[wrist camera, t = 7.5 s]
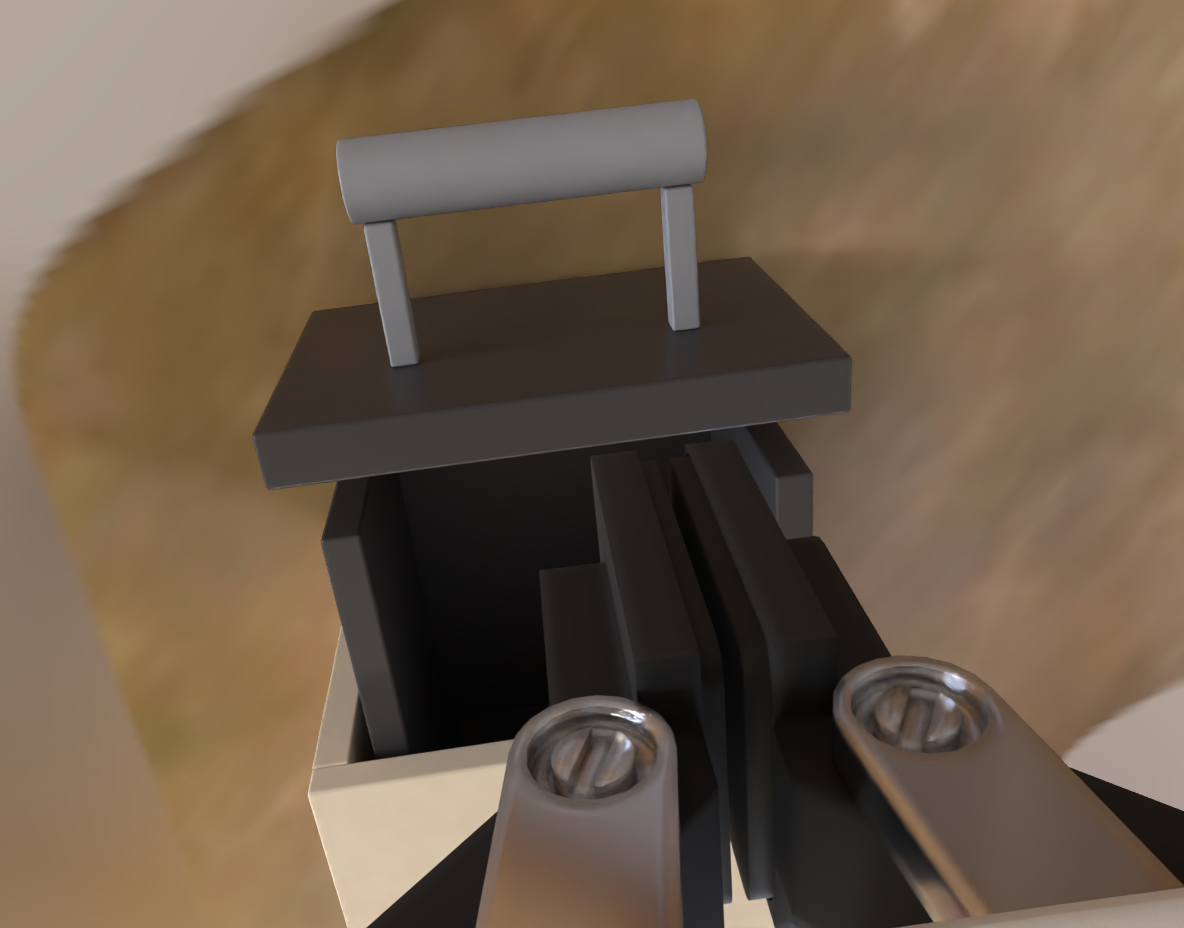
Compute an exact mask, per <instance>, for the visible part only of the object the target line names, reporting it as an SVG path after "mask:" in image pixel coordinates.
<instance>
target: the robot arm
mask: <svg viewBox="0 0 1184 928" xmlns="http://www.w3.org/2000/svg"><path fill="white" fill-rule="evenodd" d="M591 472H592V482H593V492H594V502H595V512H596V522H597V532H598V542H599V552H600V562H601V563H594V564H586V565H578V566H570V567H562V568H554V569H546V570H539V576H540V589H541V602H542V614H543V627H544V640H545V652H546V665H547V678H548V690H549V703H550V707H548V708H546V709H545V710H543V711H542V712H540V713H539V714H537V715H536V716H534V717H532V718H531V719H530V720H529V721H528V722H527V723H526V724H525V725H524V726H523V727H522V729H521V730H520V731H519V732H518V733H517V734H516V736H515V738H514V741H513V743H512V746H511V748H510V751H509V754H508V759H507V764H506V769H505V775H504V780H503V785H502V791H501V796H500V801H499V806H498V811H497V812H496V813H495V814H494V815H492V816H491V817H490V818H489V819H488V820H487V821H486V822H485V823H483V824H482V825H481V826H480V827H479V828H478V829H477V830H476V831H474V832H473V833H472V834H471V835H470V836H469V837H468V838H467V839H465V840H464V841H463V842H462V843H461V844H460V845H459V846H458V847H456V848H455V849H454V850H453V851H452V852H451V853H450V854H449V855H447V856H446V857H445V858H444V859H443V860H442V861H441V862H440V863H438V864H437V865H436V866H435V867H434V868H433V869H432V870H431V871H429V872H428V873H427V874H426V875H425V876H424V877H423V878H422V879H420V880H419V881H418V882H417V883H416V884H415V885H414V886H413V887H411V888H410V889H409V890H408V891H407V892H406V893H405V894H404V895H402V896H401V897H400V898H399V899H398V900H397V901H396V902H395V903H393V904H392V905H391V906H390V907H389V908H388V909H387V910H386V911H384V912H383V913H382V914H381V915H380V916H379V917H378V918H377V919H375V920H374V921H373V922H372V923H371V924H370V925H369V926H368V927H366V928H725V927H724V904H729V903H732V873H731V847H730V841H731V845H732V849H733V852H734V856H735V859H736V863H737V867H738V870H739V874H740V877H741V881H742V885H743V888H744V891H745V894H746V897H747V899H748V900H749V901H751V900H758V899H765V898H766V900H767V904H768V907H769V910H770V914H771V917H772V920H773V924H774V927H775V928H1184V811H1181V810H1179V809H1177V808H1174V807H1171V806H1169V805H1166V804H1163V803H1161V802H1158V801H1155V800H1153V799H1151V798H1148V797H1145V796H1143V795H1140V794H1138V793H1135V792H1132V791H1129V790H1127V789H1124V788H1122V787H1119V786H1117V785H1114V784H1112V783H1109V782H1106V781H1104V780H1101V779H1099V778H1096V777H1093V776H1091V775H1088V774H1085V773H1083V772H1080V771H1078V770H1075V769H1073V768H1070V767H1068V766H1067V765H1066V764H1065V763H1064V762H1063V761H1062V760H1061V758H1060V757H1059V756H1058V755H1057V754H1056V753H1055V752H1054V751H1053V750H1052V749H1051V748H1050V747H1049V746H1048V745H1047V744H1046V743H1045V742H1044V741H1043V740H1042V739H1041V738H1040V737H1039V736H1038V735H1037V734H1036V733H1035V732H1034V731H1033V730H1032V729H1031V728H1030V727H1029V726H1028V725H1027V724H1026V722H1025V721H1024V720H1023V719H1022V718H1021V717H1020V716H1019V715H1018V714H1017V713H1016V712H1015V711H1014V710H1013V709H1012V708H1011V707H1010V706H1009V705H1008V704H1007V703H1006V702H1005V701H1004V700H1003V699H1002V698H1001V697H1000V696H999V695H998V694H997V693H996V692H995V691H994V690H993V689H992V688H991V687H990V686H989V685H987V684H986V683H985V682H983V681H982V680H981V679H980V678H978V677H977V676H976V675H975V674H973V673H970V672H968V671H966V670H964V669H962V668H960V667H958V666H956V665H953V664H951V663H947V662H943V661H939V660H935V659H931V658H927V657H915V656H893V657H892V656H891V655H890V653H889V651H888V650H887V648H886V646H885V645H884V643H883V641H882V640H881V638H880V636H879V635H878V633H877V631H876V630H875V628H874V626H873V625H872V623H871V621H870V619H869V618H868V616H867V614H866V613H865V611H864V609H863V608H862V606H861V604H860V603H859V601H858V599H857V598H856V596H855V594H854V593H853V591H852V589H851V588H850V586H849V584H848V582H847V581H846V579H845V577H844V576H843V574H842V572H841V571H840V569H839V567H838V566H837V564H836V562H835V561H834V559H833V557H832V556H831V554H830V552H829V551H828V549H827V547H826V546H825V544H824V542H823V541H822V540H821V539H820V538H819V537H817V536H810V537H802V538H794V539H786V538H785V536H784V534H783V532H782V531H781V529H780V527H779V525H778V523H777V521H776V519H775V517H774V515H773V514H772V512H771V510H770V508H769V506H768V504H767V502H766V500H765V499H764V497H763V495H762V493H761V491H760V489H759V487H758V485H757V483H756V482H755V480H754V478H753V476H752V474H751V472H750V470H749V468H748V466H747V465H746V463H745V461H744V459H743V457H742V455H741V453H740V451H739V450H738V448H737V446H736V444H735V442H734V441H733V439H726V440H717V441H709V442H701V443H693V444H686V445H685V449H684V457H677V458H670V459H669V483H670V499H671V502H670V499H669V496H668V493H667V491H666V488H665V485H664V482H663V479H662V476H661V473H660V470H659V467H658V464H657V462H656V460H652V461H644V462H640V460H639V456H638V453H637V451H636V450H634V451H626V452H618V453H610V454H601V455H593V456H591Z"/></svg>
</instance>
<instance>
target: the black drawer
mask: <svg viewBox="0 0 1184 928" xmlns="http://www.w3.org/2000/svg"><path fill="white" fill-rule="evenodd" d="M336 159H337V169H338V176H339V182H340V187H341V192H342V196H343V201H344V204H345V208H346V211H347V214H348V216H349V219H350V220H351V222H352V223H353V224H361V223H365V225H364V233H365V238H366V243H367V248H368V253H369V258H370V263H371V268H372V273H373V278H374V283H375V289H376V294H377V299H378V303H375V304H367V305H359V306H351V307H343V308H335V309H327V310H319V311H314V312H312V314H311V316H310V318H309V320H308V322H307V324H306V326H305V328H304V330H303V332H302V334H301V336H300V338H299V340H298V343H297V345H296V347H295V349H294V351H293V353H292V355H291V357H290V359H289V361H288V363H287V365H286V367H285V369H284V371H283V373H282V375H281V377H280V380H279V382H278V384H277V386H276V388H275V390H274V392H273V394H272V396H271V398H270V400H269V402H268V404H267V406H266V408H265V410H264V412H263V414H262V417H261V419H260V421H259V423H258V425H257V427H256V429H255V431H254V433H253V436H252V439H253V442H254V446H255V450H256V453H257V457H258V460H259V464H260V468H261V471H262V475H263V479H264V482H265V486H266V488H267V489H268V490H274V489H282V488H289V487H296V486H304V485H311V484H319V483H326V482H334V481H337V484H336V487H335V491H334V495H333V498H332V502H331V506H330V510H329V513H328V517H327V521H326V524H325V528H324V532H323V535H322V539H321V545H322V549H323V553H324V557H325V561H326V565H327V569H328V573H329V577H330V581H331V585H332V588H333V592H334V596H335V600H336V604H337V608H338V612H339V616H340V620H341V624H342V628H343V632H344V636H345V640H346V644H347V647H348V651H349V655H350V659H351V663H352V667H353V671H354V675H355V679H356V683H357V687H358V691H359V695H360V699H361V703H362V707H363V710H364V714H365V718H366V722H367V726H368V730H369V734H370V738H371V742H372V746H373V750H374V754H375V758H376V760H378V759H385V758H391V757H398V756H405V755H411V754H418V753H425V752H431V751H438V750H445V749H451V748H458V747H465V746H471V745H478V744H485V743H491V742H498V741H505V740H511V739H514V738H515V736H516V734H517V733H518V732H519V731H520V730H521V729H522V727H523V726H524V725H525V724H526V723H527V722H528V721H529V720H530V719H531V718H532V717H534V716H536V715H537V714H539V713H540V712H542V711H543V710H545V709H546V708H548V707H550V703H549V690H548V678H547V665H546V652H545V640H544V627H543V614H542V602H541V589H540V576H539V570H546V569H554V568H562V567H570V566H578V565H586V564H594V563H601V562H600V552H599V542H598V532H597V522H596V512H595V502H594V492H593V482H592V472H591V456H593V455H601V454H610V453H618V452H626V451H634V450H636V451H637V453H638V456H639V460H640V462H644V461H652V460H656V462H657V464H658V467H659V470H660V473H661V476H662V479H663V482H664V485H665V488H666V491H667V493H668V496H669V499H670V483H669V459H670V458H677V457H684V449H685V445H686V444H693V443H701V442H709V441H717V440H726V439H733V441H734V442H735V444H736V446H737V448H738V450H739V451H740V453H741V455H742V457H743V459H744V461H745V463H746V465H747V466H748V468H749V470H750V472H751V474H752V476H753V478H754V480H755V482H756V483H757V485H758V487H759V489H760V491H761V493H762V495H763V497H764V499H765V500H766V502H767V504H768V506H769V508H770V510H771V512H772V514H773V515H774V517H775V519H776V521H777V523H778V525H779V527H780V529H781V531H782V532H783V534H784V536H785V538H786V539H794V538H802V537H810V536H813V474H812V472H811V471H810V469H809V468H808V466H807V465H806V463H805V462H804V461H803V459H802V458H801V456H800V455H799V453H798V452H797V450H796V449H795V448H794V446H793V445H792V443H791V442H790V440H789V439H788V438H787V436H786V435H785V433H784V432H783V430H782V429H781V427H780V426H779V425H778V423H777V422H780V421H787V420H795V419H802V418H810V417H817V416H824V415H832V414H839V413H847V412H849V411H850V409H851V374H852V358H851V356H850V355H849V354H848V353H847V352H846V351H845V350H844V349H843V348H842V347H841V346H840V345H839V344H838V343H837V342H836V341H835V340H834V339H833V338H832V337H831V336H830V335H829V334H828V333H827V332H826V331H825V330H824V329H823V328H822V327H821V326H820V325H819V324H818V323H817V322H816V321H814V320H813V319H812V318H811V317H810V316H809V315H808V314H807V313H806V312H805V311H804V310H803V309H802V308H801V307H800V306H799V305H798V304H797V303H796V302H795V301H794V300H793V299H792V298H791V297H790V296H789V295H788V294H787V293H786V292H785V291H784V290H783V289H782V288H781V287H780V286H779V285H778V284H777V283H776V282H775V281H774V280H773V279H772V278H771V277H770V276H769V275H768V274H767V273H766V272H765V271H764V270H763V269H762V268H760V267H759V266H758V265H757V264H756V263H755V262H754V261H753V260H752V259H751V258H750V257H743V258H735V259H727V260H719V261H711V262H703V263H697V250H696V230H695V210H694V190H693V186H692V185H691V184H693V183H700V182H702V181H703V180H704V177H705V173H706V165H707V143H706V132H705V124H704V119H703V114H702V110H701V107H700V105H699V103H698V101H697V100H696V99H685V100H677V101H668V102H659V103H651V104H642V105H634V106H625V107H616V108H608V109H599V110H590V111H582V112H573V113H564V114H556V115H547V116H538V117H530V118H521V119H512V120H504V121H495V122H486V123H478V124H469V125H460V126H452V127H443V128H434V129H426V130H417V131H408V132H400V133H391V134H382V135H374V136H365V137H357V138H348V139H340V140H338V142H337V146H336ZM652 188H660V197H661V213H662V228H663V244H664V259H665V267H663V268H655V269H647V270H639V271H631V272H623V273H615V274H607V275H599V276H591V277H583V278H575V279H567V280H559V281H551V282H543V283H535V284H527V285H519V286H511V287H503V288H495V289H487V290H479V291H471V292H463V293H455V294H447V295H439V296H431V297H423V298H415V299H410V295H409V290H408V285H407V279H406V274H405V268H404V263H403V257H402V252H401V247H400V241H399V236H398V230H397V225H396V220H395V219H402V218H411V217H419V216H427V215H435V214H444V213H452V212H460V211H469V210H477V209H485V208H494V207H502V206H510V205H519V204H527V203H535V202H544V201H552V200H560V199H568V198H577V197H585V196H593V195H602V194H610V193H618V192H627V191H635V190H643V189H652ZM670 502H671V499H670Z"/></svg>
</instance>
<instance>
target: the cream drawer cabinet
mask: <svg viewBox="0 0 1184 928" xmlns="http://www.w3.org/2000/svg"><path fill="white" fill-rule="evenodd" d="M513 741H514V739H511V740H505V741H498V742H491V743H485V744H478V745H471V746H465V747H458V748H451V749H445V750H438V751H431V752H425V753H418V754H411V755H405V756H398V757H391V758H385V759H378V760H376V758H375V754H374V750H373V746H372V742H371V738H370V734H369V730H368V726H367V722H366V718H365V714H364V710H363V707H362V703H361V699H360V695H359V691H358V687H357V683H356V679H355V675H354V671H353V667H352V663H351V659H350V655H349V651H348V647H347V644H346V640H345V636H344V632H343V628H342V625H341V630H340V635H339V640H338V645H337V649H336V654H335V659H334V664H333V669H332V674H331V679H330V684H329V689H328V694H327V699H326V704H325V708H324V713H323V718H322V723H321V728H320V733H319V738H318V743H317V748H316V753H315V758H314V762H313V767H312V768H313V771H312V775H311V780H310V785H309V790H308V798H309V801H310V804H311V808H312V811H313V814H314V818H315V821H316V824H317V828H318V831H319V834H320V838H321V841H322V844H323V848H324V851H325V854H326V858H327V861H328V864H329V868H330V871H331V874H332V878H333V881H334V884H335V888H336V891H337V894H338V898H339V901H340V904H341V908H342V911H343V914H344V918H345V921H346V924H347V928H366V927H368V926H369V925H370V924H371V923H372V922H373V921H374V920H375V919H377V918H378V917H379V916H380V915H381V914H382V913H383V912H384V911H386V910H387V909H388V908H389V907H390V906H391V905H392V904H393V903H395V902H396V901H397V900H398V899H399V898H400V897H401V896H402V895H404V894H405V893H406V892H407V891H408V890H409V889H410V888H411V887H413V886H414V885H415V884H416V883H417V882H418V881H419V880H420V879H422V878H423V877H424V876H425V875H426V874H427V873H428V872H429V871H431V870H432V869H433V868H434V867H435V866H436V865H437V864H438V863H440V862H441V861H442V860H443V859H444V858H445V857H446V856H447V855H449V854H450V853H451V852H452V851H453V850H454V849H455V848H456V847H458V846H459V845H460V844H461V843H462V842H463V841H464V840H465V839H467V838H468V837H469V836H470V835H471V834H472V833H473V832H474V831H476V830H477V829H478V828H479V827H480V826H481V825H482V824H483V823H485V822H486V821H487V820H488V819H489V818H490V817H491V816H492V815H494V814H495V813H496V812H497V811H498V806H499V801H500V796H501V791H502V785H503V780H504V775H505V769H506V764H507V759H508V754H509V751H510V748H511V746H512V743H513ZM730 847H731V873H732V903H729V904H724V927H725V928H775V927H774V924H773V920H772V917H771V914H770V910H769V907H768V904H767V900H766V898H765V899H758V900H751V901H749V900H748V899H747V897H746V894H745V891H744V888H743V885H742V881H741V877H740V874H739V870H738V867H737V863H736V859H735V856H734V852H733V849H732V845H731V841H730Z"/></svg>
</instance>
